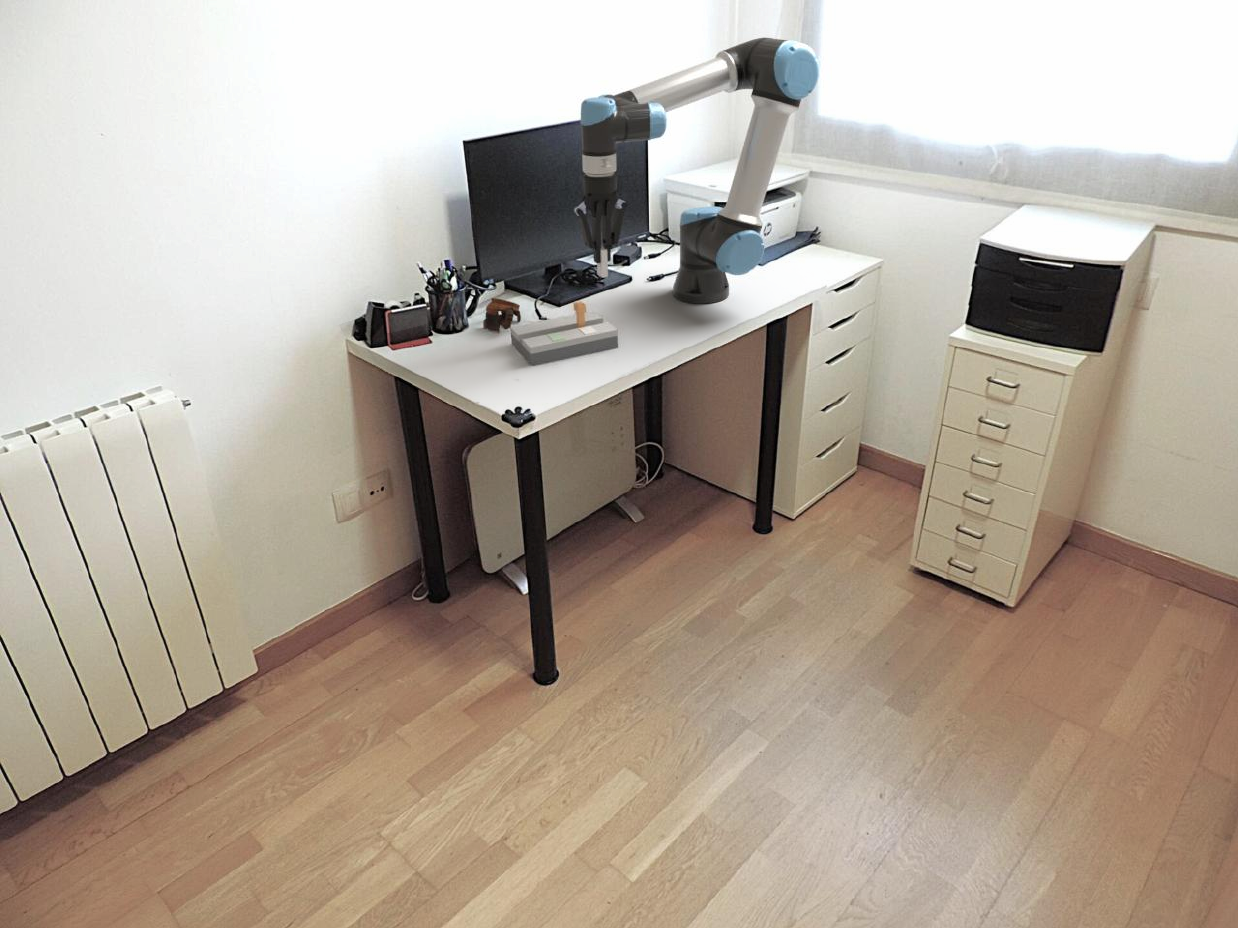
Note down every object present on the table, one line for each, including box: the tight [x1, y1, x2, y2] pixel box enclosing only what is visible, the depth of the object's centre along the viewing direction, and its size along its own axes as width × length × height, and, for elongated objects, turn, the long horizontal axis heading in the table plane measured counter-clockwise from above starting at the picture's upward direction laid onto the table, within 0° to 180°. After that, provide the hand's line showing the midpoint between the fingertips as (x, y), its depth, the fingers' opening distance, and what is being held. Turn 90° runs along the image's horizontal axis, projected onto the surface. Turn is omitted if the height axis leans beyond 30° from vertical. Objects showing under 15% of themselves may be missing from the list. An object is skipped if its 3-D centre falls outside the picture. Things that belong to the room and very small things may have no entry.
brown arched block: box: [482, 297, 522, 333], centre depth 225 cm, size 12×10×8 cm
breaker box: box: [509, 310, 619, 367], centre depth 214 cm, size 22×14×5 cm, turn 115°
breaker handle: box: [573, 300, 587, 328], centre depth 213 cm, size 2×3×7 cm, turn 25°
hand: (602, 275), depth 211 cm, fingers closed
